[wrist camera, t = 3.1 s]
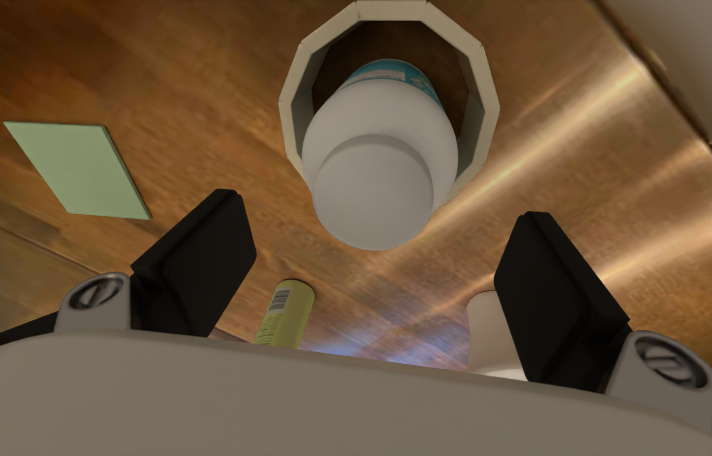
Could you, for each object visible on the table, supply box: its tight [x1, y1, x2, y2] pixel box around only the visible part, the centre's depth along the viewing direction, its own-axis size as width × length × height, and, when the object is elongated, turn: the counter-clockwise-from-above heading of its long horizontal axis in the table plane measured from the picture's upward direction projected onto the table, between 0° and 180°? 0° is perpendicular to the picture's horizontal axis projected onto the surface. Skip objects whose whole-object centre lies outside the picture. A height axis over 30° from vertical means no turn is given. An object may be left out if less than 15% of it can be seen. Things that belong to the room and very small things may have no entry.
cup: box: [466, 291, 529, 382], centre depth 29 cm, size 9×9×10 cm
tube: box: [253, 280, 315, 350], centre depth 28 cm, size 6×5×20 cm
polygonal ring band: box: [278, 0, 500, 208], centre depth 20 cm, size 13×13×5 cm
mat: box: [3, 121, 152, 220], centre depth 29 cm, size 10×10×1 cm
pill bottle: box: [302, 59, 458, 250], centre depth 16 cm, size 8×7×14 cm
